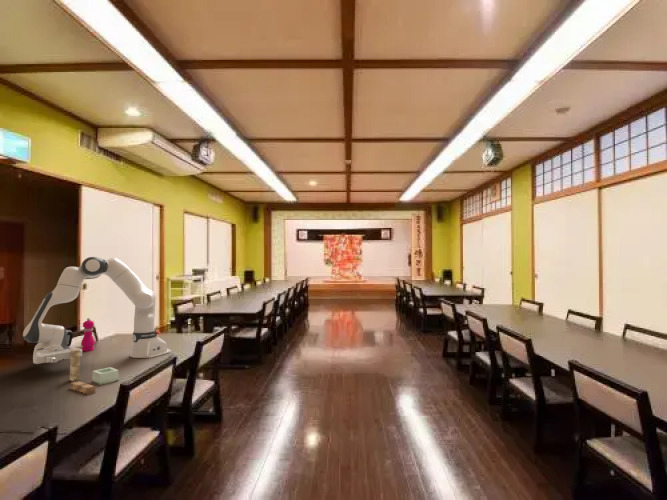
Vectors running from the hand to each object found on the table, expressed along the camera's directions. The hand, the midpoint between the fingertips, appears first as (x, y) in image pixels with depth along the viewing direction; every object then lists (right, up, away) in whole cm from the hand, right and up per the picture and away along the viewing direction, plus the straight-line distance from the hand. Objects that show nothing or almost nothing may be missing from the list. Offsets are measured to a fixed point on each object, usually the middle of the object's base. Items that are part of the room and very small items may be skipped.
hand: (64, 358), depth 192 cm
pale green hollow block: (+25, -9, -8) cm, 28 cm away
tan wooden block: (+10, -8, -7) cm, 15 cm away
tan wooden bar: (+23, -9, -21) cm, 33 cm away
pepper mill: (-20, -9, +50) cm, 55 cm away
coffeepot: (-22, -9, +31) cm, 39 cm away
